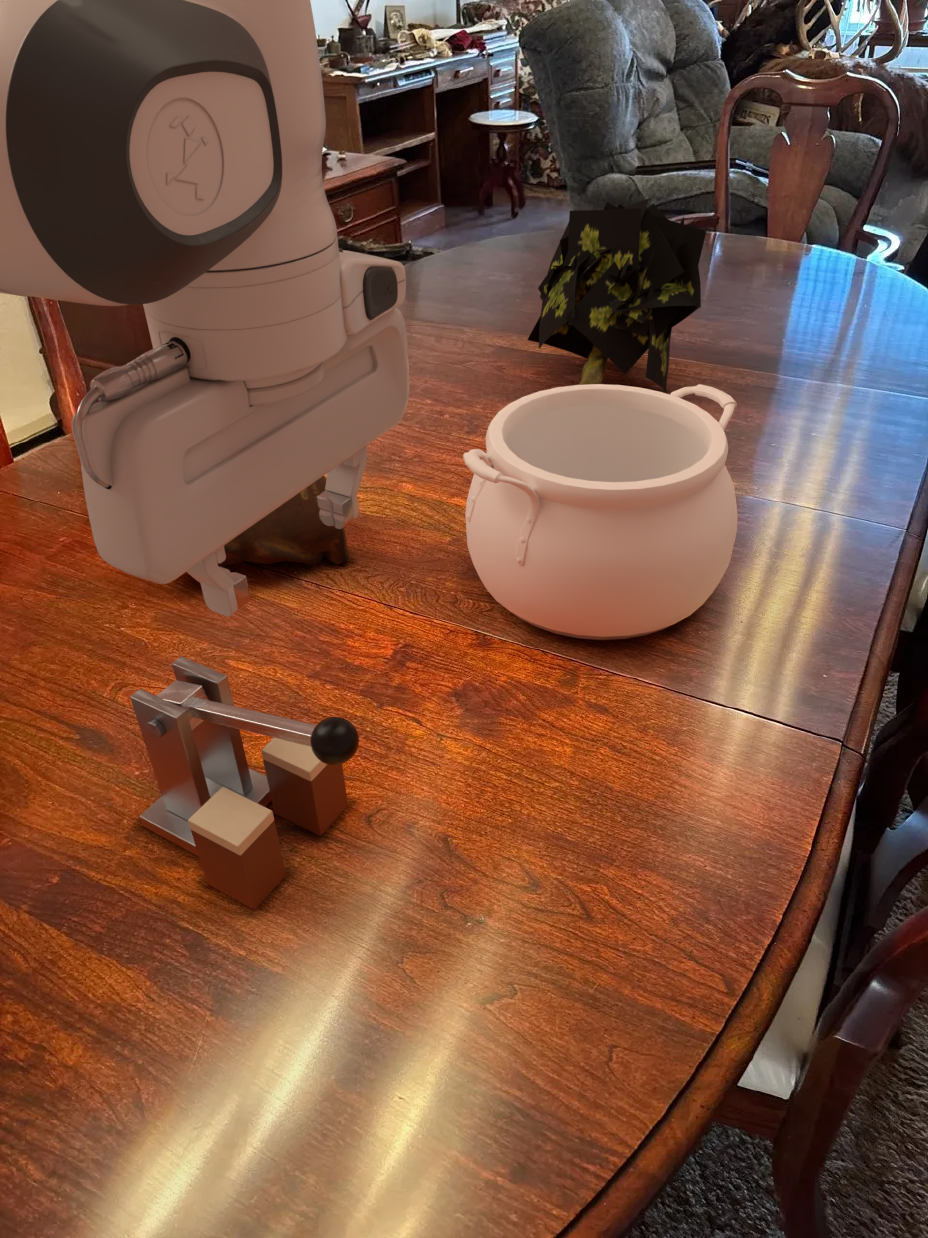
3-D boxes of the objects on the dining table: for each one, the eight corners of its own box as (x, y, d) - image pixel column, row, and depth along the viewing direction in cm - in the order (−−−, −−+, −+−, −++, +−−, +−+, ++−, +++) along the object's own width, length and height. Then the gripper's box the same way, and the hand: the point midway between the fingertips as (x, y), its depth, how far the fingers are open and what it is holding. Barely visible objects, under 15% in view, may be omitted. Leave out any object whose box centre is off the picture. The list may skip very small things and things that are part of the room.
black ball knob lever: (373, 748, 58) (361, 711, 57) (345, 779, 56) (331, 741, 55) (193, 705, 67) (178, 672, 66) (163, 731, 65) (147, 697, 64)
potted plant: (654, 442, 123) (746, 212, 115) (496, 384, 123) (577, 152, 115) (640, 437, 143) (717, 241, 136) (505, 387, 144) (574, 190, 136)
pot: (552, 701, 81) (561, 534, 70) (410, 559, 99) (400, 410, 88) (790, 597, 92) (828, 440, 82) (623, 487, 110) (637, 347, 100)
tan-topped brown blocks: (254, 911, 64) (238, 846, 60) (206, 884, 66) (187, 820, 62) (348, 805, 72) (339, 741, 67) (302, 784, 73) (291, 720, 69)
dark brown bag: (144, 548, 101) (128, 488, 97) (326, 512, 107) (319, 454, 102) (155, 612, 92) (138, 549, 87) (354, 570, 98) (348, 508, 93)
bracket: (280, 791, 73) (255, 669, 65) (210, 863, 67) (174, 739, 60) (214, 760, 76) (182, 638, 68) (142, 826, 70) (98, 703, 63)
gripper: (121, 408, 33) (196, 692, 42) (424, 257, 47) (434, 494, 56) (7, 375, 36) (99, 649, 44) (326, 242, 50) (350, 470, 58)
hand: (288, 561), depth 50 cm, fingers open, 8 cm apart
